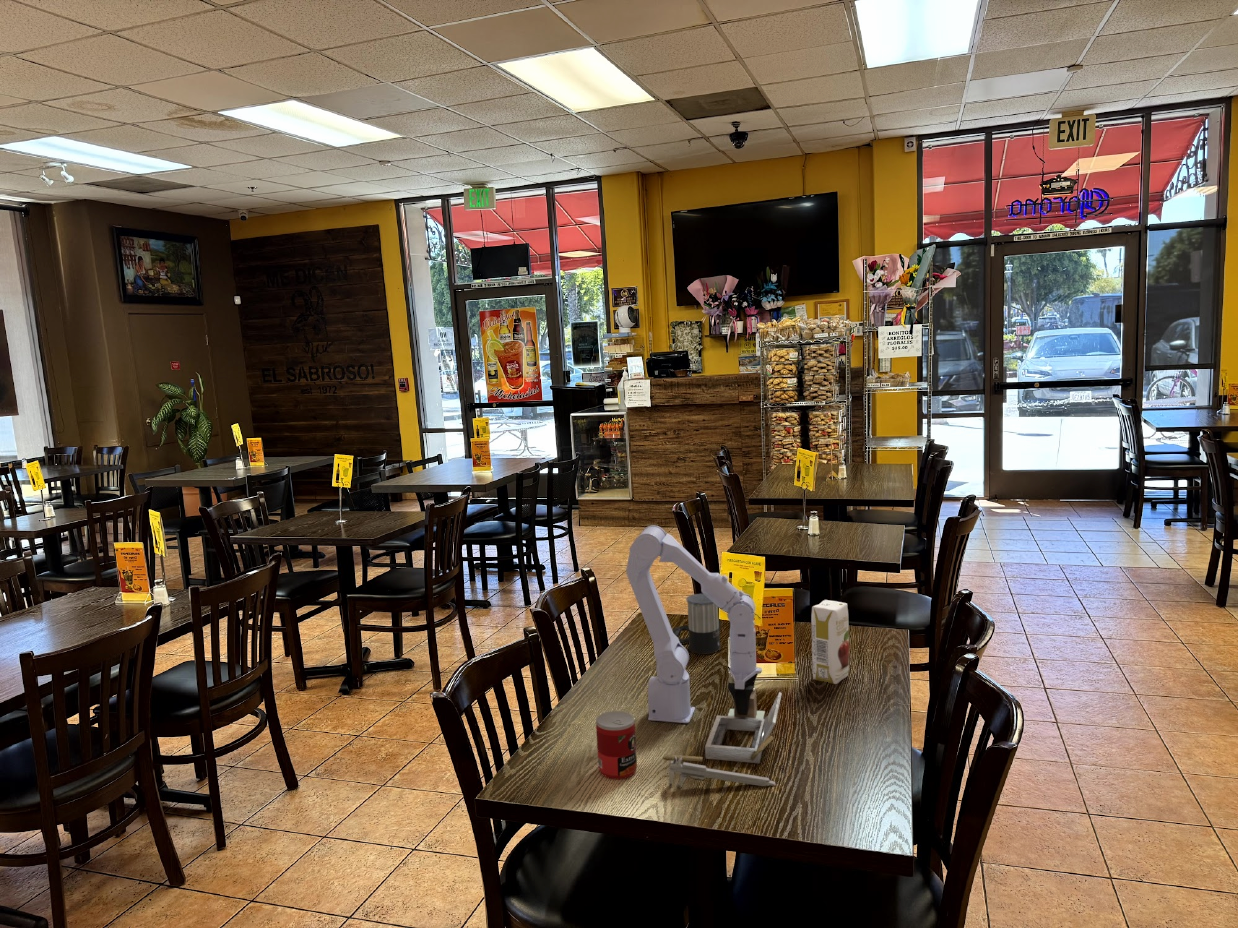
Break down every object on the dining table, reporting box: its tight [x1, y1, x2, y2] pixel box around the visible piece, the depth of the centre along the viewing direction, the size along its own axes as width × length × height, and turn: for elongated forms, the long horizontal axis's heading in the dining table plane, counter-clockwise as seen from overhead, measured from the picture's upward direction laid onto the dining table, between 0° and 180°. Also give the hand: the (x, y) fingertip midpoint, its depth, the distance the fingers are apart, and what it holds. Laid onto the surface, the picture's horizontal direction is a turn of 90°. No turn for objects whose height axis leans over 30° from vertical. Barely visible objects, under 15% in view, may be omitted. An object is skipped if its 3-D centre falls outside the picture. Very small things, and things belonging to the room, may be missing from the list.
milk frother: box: [672, 593, 722, 655], centre depth 236 cm, size 14×16×15 cm
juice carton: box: [810, 599, 850, 685], centre depth 208 cm, size 8×9×19 cm
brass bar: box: [663, 753, 704, 762], centre depth 171 cm, size 8×1×1 cm, turn 75°
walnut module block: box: [733, 690, 758, 718], centre depth 188 cm, size 4×4×6 cm
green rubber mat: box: [727, 708, 766, 719], centre depth 188 cm, size 8×8×1 cm
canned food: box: [595, 710, 638, 780], centre depth 167 cm, size 8×8×11 cm
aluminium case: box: [704, 714, 765, 764], centre depth 176 cm, size 11×15×3 cm
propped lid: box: [750, 691, 783, 761], centre depth 174 cm, size 5×16×8 cm, turn 164°
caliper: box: [668, 756, 777, 788], centre depth 160 cm, size 20×1×6 cm, turn 87°
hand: (744, 707), depth 188 cm, fingers open, 7 cm apart
